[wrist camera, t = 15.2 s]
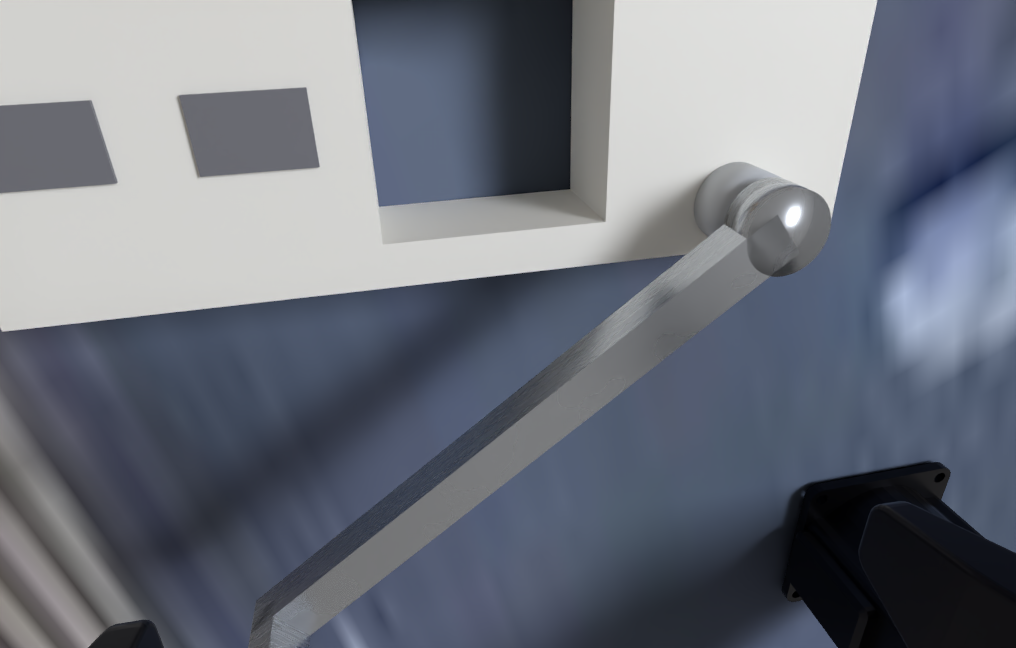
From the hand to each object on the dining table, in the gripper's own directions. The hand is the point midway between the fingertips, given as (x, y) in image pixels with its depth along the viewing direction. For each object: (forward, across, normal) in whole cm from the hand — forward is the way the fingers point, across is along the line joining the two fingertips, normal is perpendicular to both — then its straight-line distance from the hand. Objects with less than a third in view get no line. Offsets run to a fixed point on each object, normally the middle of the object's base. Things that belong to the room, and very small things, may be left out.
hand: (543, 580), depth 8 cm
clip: (+7, -1, +3) cm, 8 cm away
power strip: (+12, -1, -4) cm, 13 cm away
